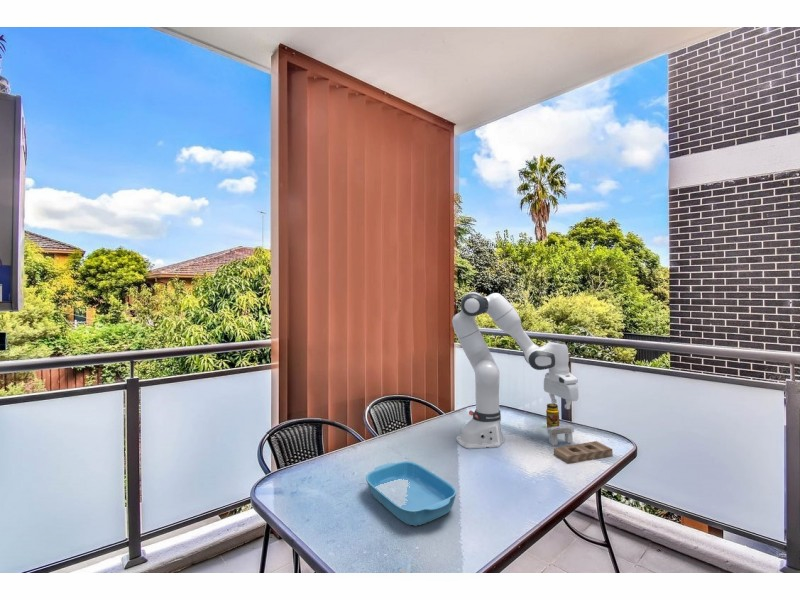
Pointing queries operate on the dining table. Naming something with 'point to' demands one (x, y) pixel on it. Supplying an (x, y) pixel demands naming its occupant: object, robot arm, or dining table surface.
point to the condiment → (552, 415)
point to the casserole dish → (414, 492)
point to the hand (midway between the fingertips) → (560, 405)
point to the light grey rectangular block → (560, 430)
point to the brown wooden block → (582, 452)
